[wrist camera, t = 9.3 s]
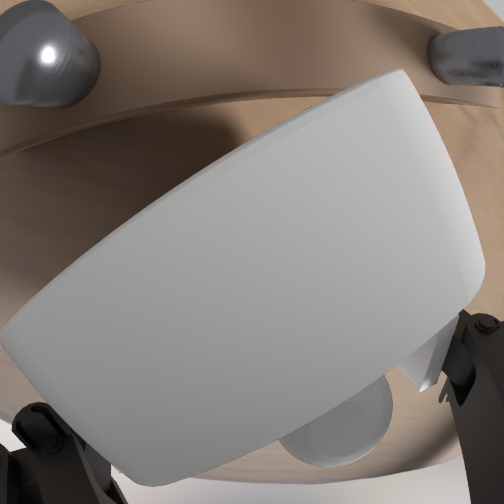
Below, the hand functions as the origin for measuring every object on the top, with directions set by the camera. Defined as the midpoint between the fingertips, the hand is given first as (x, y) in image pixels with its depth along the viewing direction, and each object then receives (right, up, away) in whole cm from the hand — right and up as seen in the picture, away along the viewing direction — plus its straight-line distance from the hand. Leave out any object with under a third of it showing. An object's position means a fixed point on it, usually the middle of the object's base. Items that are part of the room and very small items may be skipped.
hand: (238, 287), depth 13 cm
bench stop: (+1, +9, -2) cm, 9 cm away
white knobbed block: (+1, 0, 0) cm, 1 cm away
